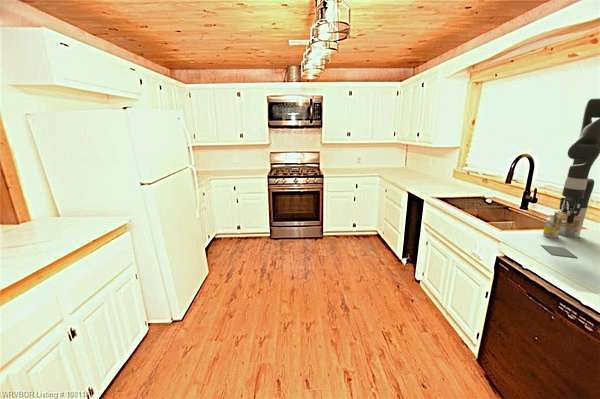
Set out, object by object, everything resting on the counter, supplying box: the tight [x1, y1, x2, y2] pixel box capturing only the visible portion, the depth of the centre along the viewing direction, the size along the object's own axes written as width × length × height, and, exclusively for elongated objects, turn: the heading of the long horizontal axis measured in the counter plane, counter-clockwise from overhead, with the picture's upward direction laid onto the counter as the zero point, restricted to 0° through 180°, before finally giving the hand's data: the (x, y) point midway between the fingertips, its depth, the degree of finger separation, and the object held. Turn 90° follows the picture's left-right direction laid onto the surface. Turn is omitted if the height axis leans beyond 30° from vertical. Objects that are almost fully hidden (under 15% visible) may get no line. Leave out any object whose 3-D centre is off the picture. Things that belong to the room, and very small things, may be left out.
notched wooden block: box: [551, 210, 581, 232], centre depth 141 cm, size 5×8×8 cm
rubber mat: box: [540, 244, 578, 259], centre depth 145 cm, size 12×10×1 cm
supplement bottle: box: [542, 212, 560, 239], centre depth 163 cm, size 7×7×13 cm
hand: (566, 221), depth 141 cm, fingers closed on notched wooden block, 5 cm apart
